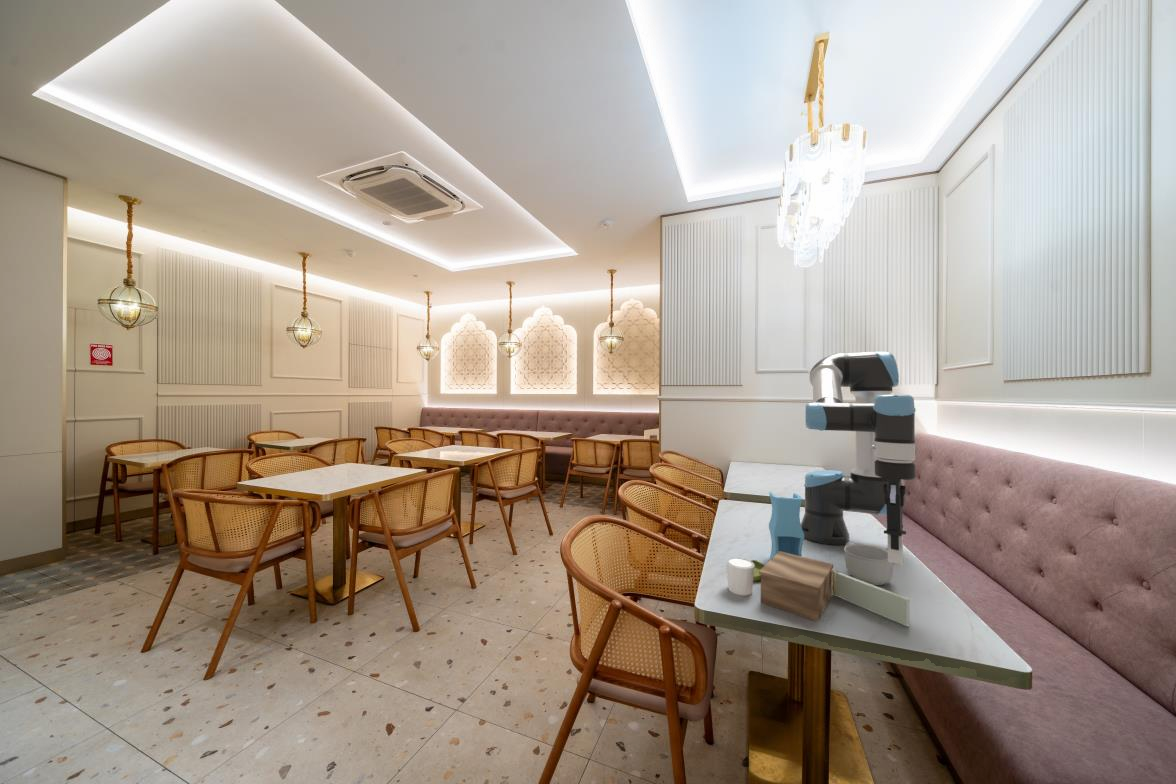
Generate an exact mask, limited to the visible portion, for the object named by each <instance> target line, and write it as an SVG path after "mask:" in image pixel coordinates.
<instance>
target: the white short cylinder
mask: <svg viewBox="0 0 1176 784" xmlns="http://www.w3.org/2000/svg"><path fill="white" fill-rule="evenodd" d="M725 565H726V576H727V577H726V578H727V585H728V586H727V587H728V590H729V591H730V592H731V593H732V594H735V595H737V596H738V595H739V596H744V597H745V596H750V595H752V593H753V587H754V581H753V577H754V567H755V564H754V563H753V562H751V559H750V560H749V559H747V558H743V557H729V558H727V559H726V561H725Z"/></svg>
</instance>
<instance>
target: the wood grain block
mask: <svg viewBox="0 0 1176 784" xmlns="http://www.w3.org/2000/svg"><path fill="white" fill-rule="evenodd" d="M764 565H765V566H764V567H763V568H762V569H761V570H760V571H759V574H761V580H760V604H765V605H767V606H770V607H773V608H776V609H779V610H782V611H784V612H788V613H790V614H794V615H797V616H800V617H803V618H806V619H808V620H809V619H810V620H812V621H815V622H819V620H820V618H821V617H822V615H823V612H824V610H825V609H826V607H827V605H828V603H829V602H830V599H831V597H832V595H833V594H832V571H833V568H834V563H830V562H827V561H826V562H825V561H821V560H818V559H813V558H809V557H805V556H803V555H802V556H798V555H793V554H789V553H785V552H781V551H779V552H778V553H777V554H776V555H775V556H774V557H773V558H772V559H770V560H769V561H767V563H766V564H764Z"/></svg>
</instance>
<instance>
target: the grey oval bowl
mask: <svg viewBox="0 0 1176 784" xmlns="http://www.w3.org/2000/svg"><path fill="white" fill-rule="evenodd" d="M843 550H844V560H845V567H846V571H847V572H848V574H849V575H850V576H851V577H853V578H856V579H858V580H861V581H864V582H866V583H869V584H872V585H874V586H882V585H884V584H886V583H888V582H890V581H891V580H892V579H893V575H894V563H891V562H888V549H886V548H882V547H879V546H875V545H870V544H864V543H860V544H859V543H854V542H852V541H849V542H848V543H846V544H845V545H844V548H843Z"/></svg>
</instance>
